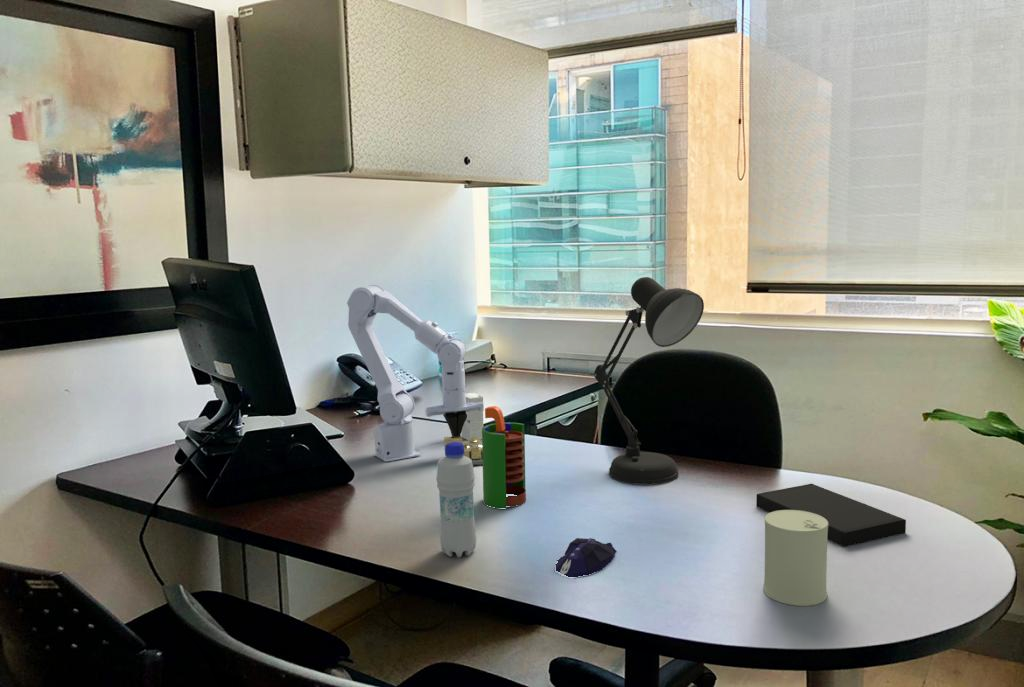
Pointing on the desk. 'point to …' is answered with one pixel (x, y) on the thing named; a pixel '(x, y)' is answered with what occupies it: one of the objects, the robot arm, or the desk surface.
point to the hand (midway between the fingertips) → (456, 441)
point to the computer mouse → (585, 557)
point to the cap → (475, 461)
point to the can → (795, 557)
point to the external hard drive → (835, 513)
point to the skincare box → (473, 419)
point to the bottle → (456, 501)
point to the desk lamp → (666, 326)
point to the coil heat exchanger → (503, 461)
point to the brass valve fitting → (470, 453)
